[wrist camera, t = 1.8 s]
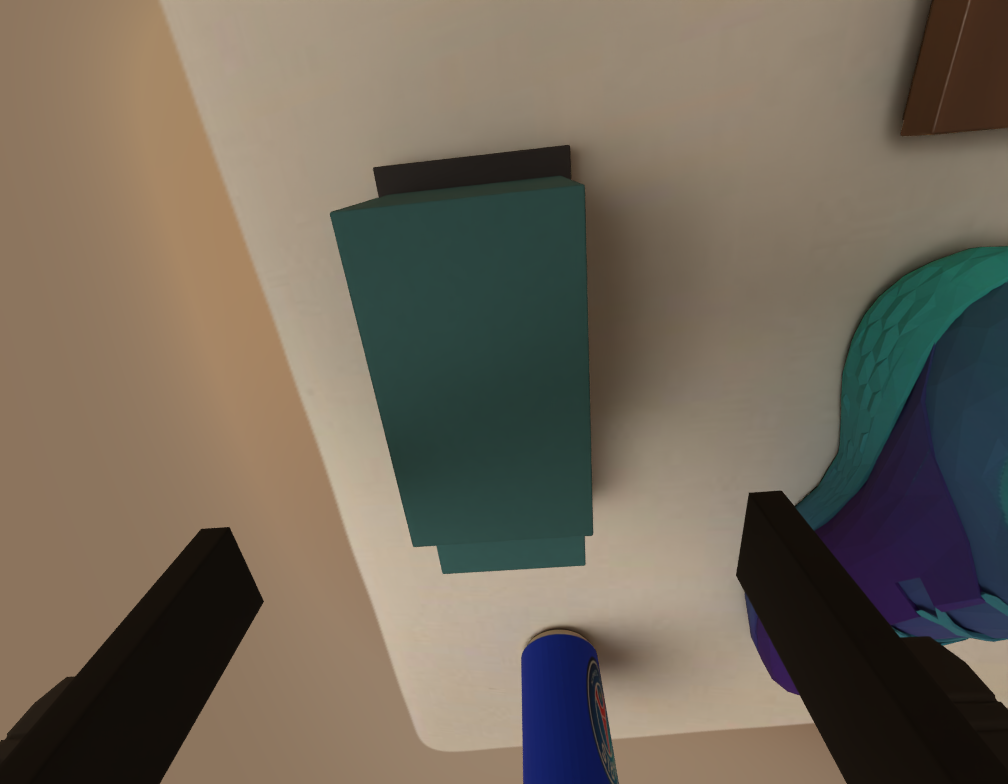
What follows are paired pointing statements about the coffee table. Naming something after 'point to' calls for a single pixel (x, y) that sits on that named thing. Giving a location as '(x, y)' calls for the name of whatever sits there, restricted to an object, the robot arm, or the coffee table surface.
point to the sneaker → (923, 457)
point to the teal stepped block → (480, 352)
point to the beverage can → (564, 713)
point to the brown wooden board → (960, 70)
